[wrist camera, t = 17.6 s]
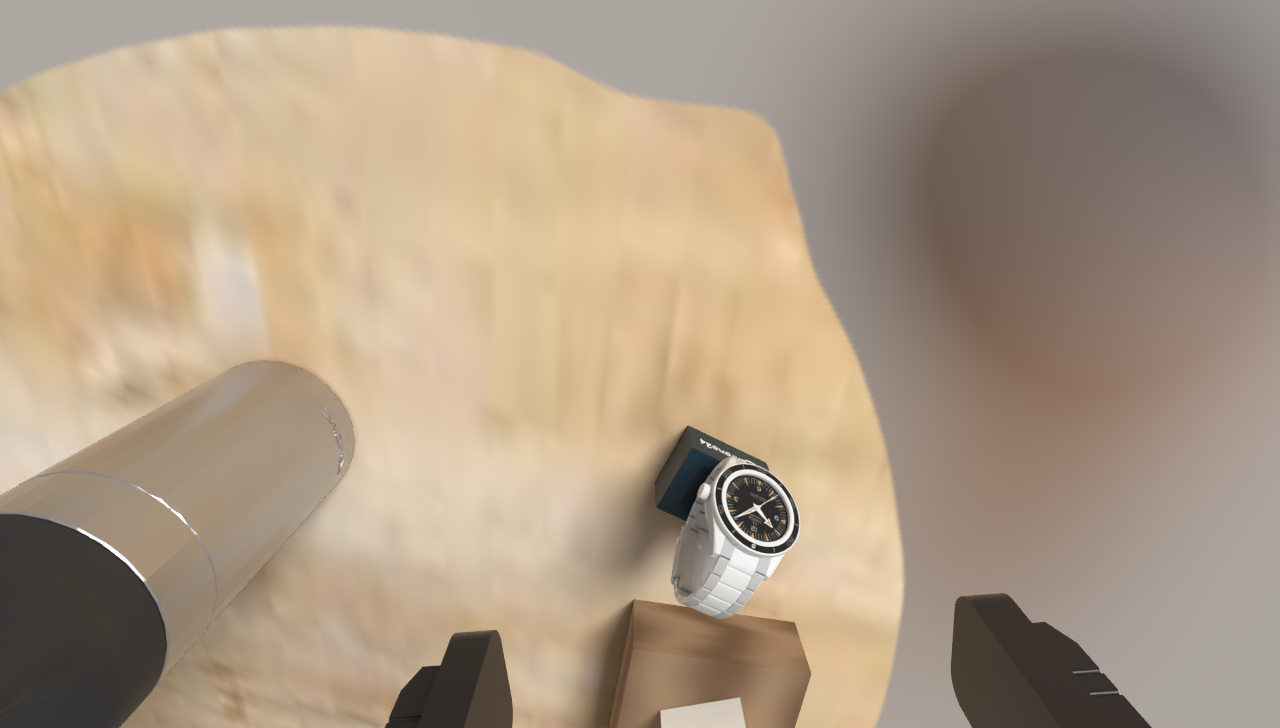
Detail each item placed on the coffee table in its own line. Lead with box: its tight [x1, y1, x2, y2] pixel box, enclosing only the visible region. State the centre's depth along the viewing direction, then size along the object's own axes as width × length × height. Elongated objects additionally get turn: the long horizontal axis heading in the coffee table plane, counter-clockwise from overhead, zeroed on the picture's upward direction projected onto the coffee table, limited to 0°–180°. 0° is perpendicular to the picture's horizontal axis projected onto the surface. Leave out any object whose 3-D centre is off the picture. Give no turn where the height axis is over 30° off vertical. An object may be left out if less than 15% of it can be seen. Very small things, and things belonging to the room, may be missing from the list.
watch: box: [655, 426, 800, 619], centre depth 37 cm, size 6×8×11 cm
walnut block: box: [608, 599, 811, 728], centre depth 45 cm, size 11×11×5 cm
